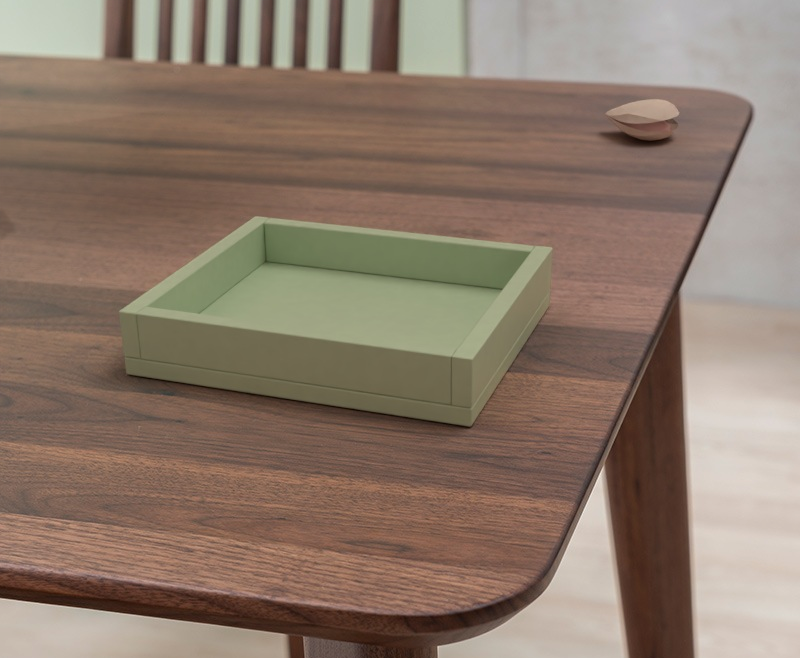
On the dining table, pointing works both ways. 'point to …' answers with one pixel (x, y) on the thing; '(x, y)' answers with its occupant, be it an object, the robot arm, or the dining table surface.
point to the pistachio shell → (645, 119)
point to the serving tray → (344, 317)
